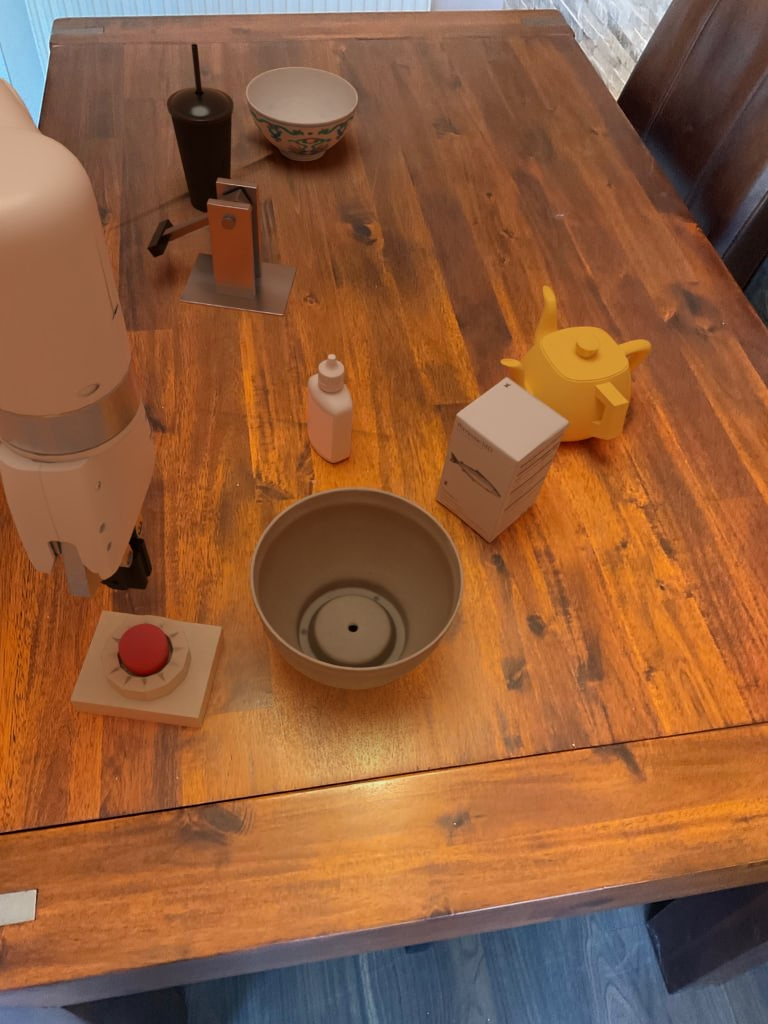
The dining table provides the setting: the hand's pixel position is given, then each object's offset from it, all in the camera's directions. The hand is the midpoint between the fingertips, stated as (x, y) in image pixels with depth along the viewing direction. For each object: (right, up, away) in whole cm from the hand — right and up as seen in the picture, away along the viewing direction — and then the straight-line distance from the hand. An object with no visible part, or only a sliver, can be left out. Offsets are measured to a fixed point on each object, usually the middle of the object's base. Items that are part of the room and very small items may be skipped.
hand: (127, 577), depth 55 cm
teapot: (+37, +16, +32) cm, 51 cm away
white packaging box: (+28, +5, +24) cm, 37 cm away
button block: (-1, -9, +10) cm, 14 cm away
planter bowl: (+15, -6, +14) cm, 21 cm away
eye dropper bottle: (+12, +11, +27) cm, 31 cm away
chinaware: (+6, +56, +58) cm, 81 cm away
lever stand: (+1, +31, +39) cm, 50 cm away
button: (-1, -7, +7) cm, 10 cm away
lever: (-2, +36, +33) cm, 49 cm away
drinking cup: (-5, +44, +48) cm, 65 cm away
